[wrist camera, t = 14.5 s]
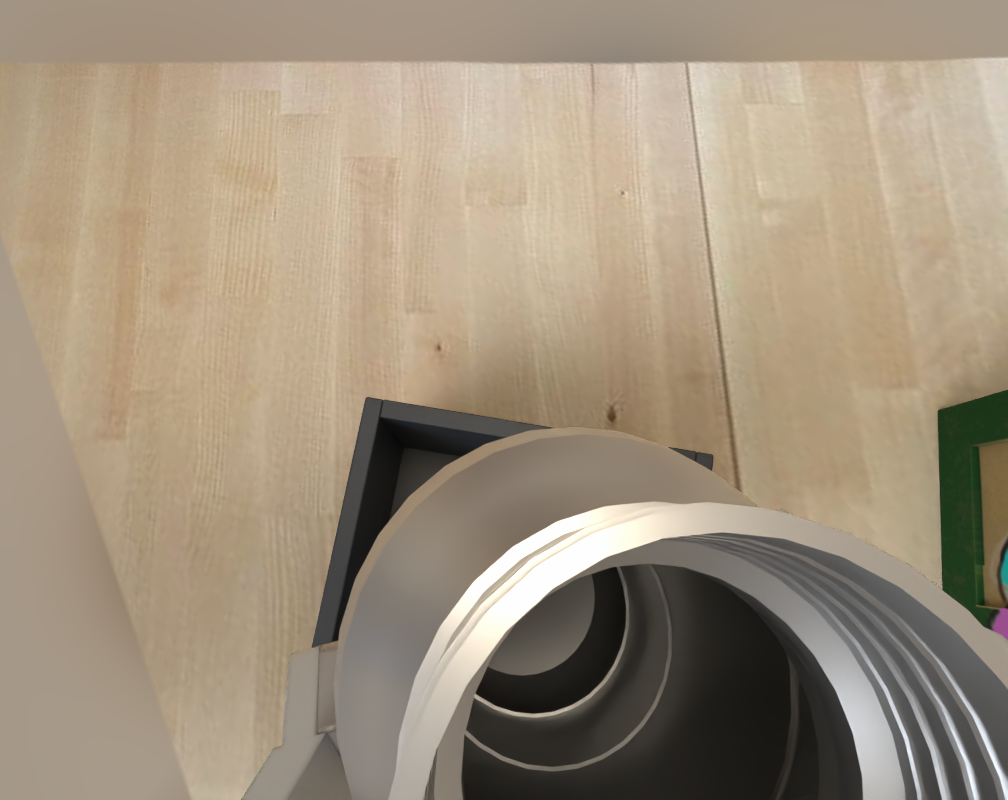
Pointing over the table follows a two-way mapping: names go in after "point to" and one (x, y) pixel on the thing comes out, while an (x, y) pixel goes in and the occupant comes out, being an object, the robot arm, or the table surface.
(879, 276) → the table surface
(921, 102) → the table surface
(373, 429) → the waste bin
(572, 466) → the silver bottle
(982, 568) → the container
